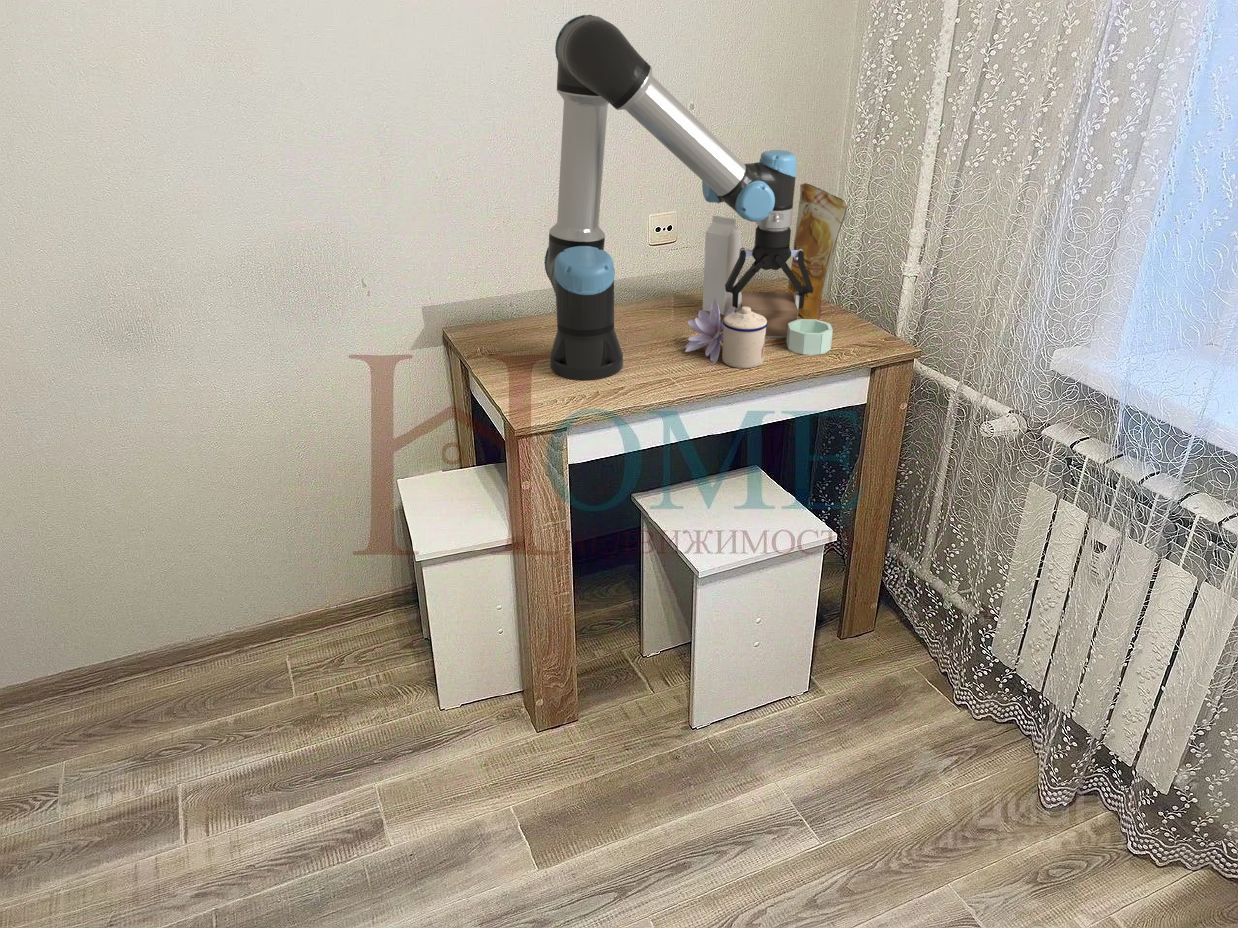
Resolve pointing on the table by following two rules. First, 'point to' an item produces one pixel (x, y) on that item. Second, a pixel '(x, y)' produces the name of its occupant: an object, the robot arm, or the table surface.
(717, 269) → the milk
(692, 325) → the water lily
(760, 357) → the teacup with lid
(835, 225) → the pancake mix bag
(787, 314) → the brown wooden block
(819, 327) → the bowl
